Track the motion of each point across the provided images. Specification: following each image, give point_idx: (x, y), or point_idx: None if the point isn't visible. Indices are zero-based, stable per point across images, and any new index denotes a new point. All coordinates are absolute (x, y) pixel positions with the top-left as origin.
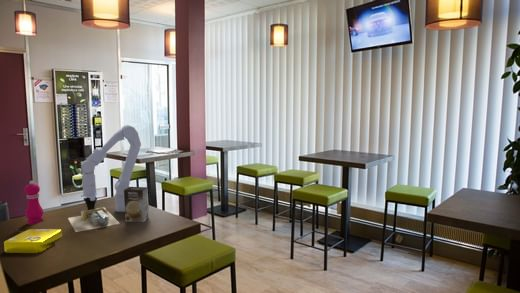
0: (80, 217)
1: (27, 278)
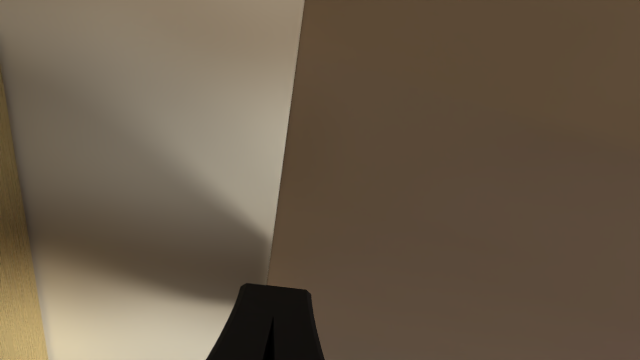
0: (123, 35)
1: None
